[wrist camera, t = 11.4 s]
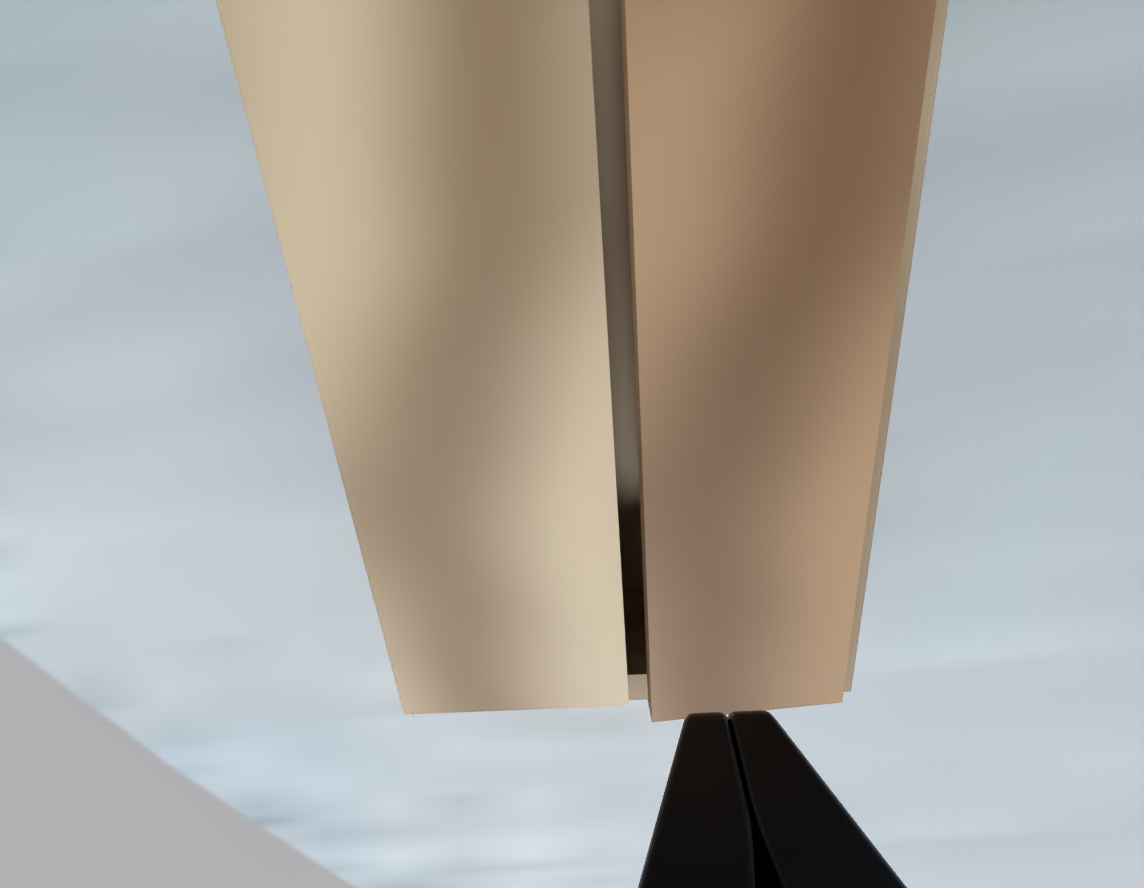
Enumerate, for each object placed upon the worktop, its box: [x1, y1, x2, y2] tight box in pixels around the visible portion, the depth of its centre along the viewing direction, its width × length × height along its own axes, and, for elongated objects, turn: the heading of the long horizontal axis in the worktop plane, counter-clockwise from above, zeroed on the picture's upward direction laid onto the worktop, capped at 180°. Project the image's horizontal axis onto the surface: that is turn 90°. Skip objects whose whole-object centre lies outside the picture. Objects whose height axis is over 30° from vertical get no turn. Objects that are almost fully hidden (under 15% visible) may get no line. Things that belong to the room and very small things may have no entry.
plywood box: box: [216, 0, 949, 714], centre depth 16 cm, size 10×15×4 cm, turn 4°
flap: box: [620, 0, 937, 722], centre depth 14 cm, size 4×14×1 cm, turn 4°
